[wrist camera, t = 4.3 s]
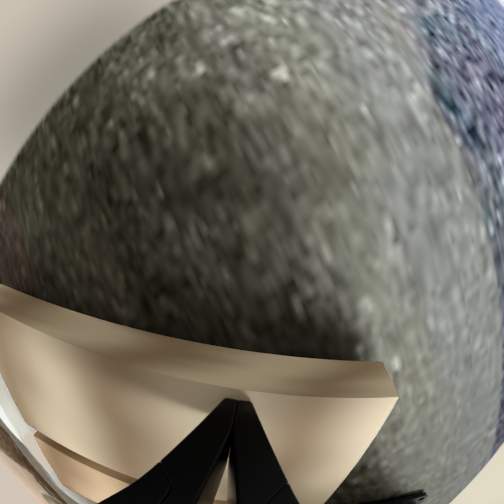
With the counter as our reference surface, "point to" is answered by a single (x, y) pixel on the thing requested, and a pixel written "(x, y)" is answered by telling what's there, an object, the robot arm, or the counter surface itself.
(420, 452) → the counter surface
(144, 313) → the counter surface
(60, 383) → the oak plank
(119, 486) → the floor strip
